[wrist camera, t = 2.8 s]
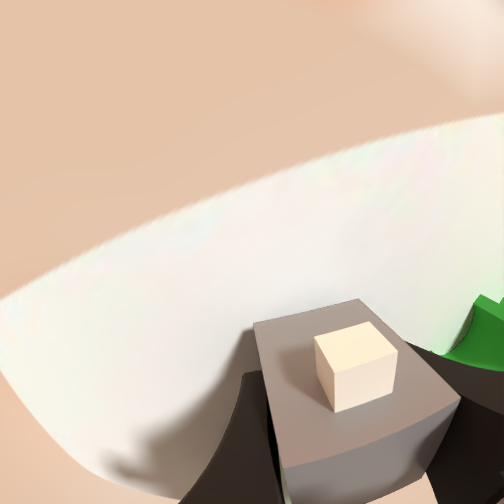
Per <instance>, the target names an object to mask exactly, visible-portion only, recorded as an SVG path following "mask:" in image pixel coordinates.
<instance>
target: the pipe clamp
mask: <svg viewBox="0 0 504 504" xmlns="http://www.w3.org/2000/svg"><path fill="white" fill-rule="evenodd" d="M473 304H474V316H473V320H472V324H471V326H470V329H469V331H468V333H467V334H466V336H465V338H464V339H463V340H462V342H461V343H460V344H459V345H458V346H457V347H456V348H455V349H454V350H452V351H451V352H449V353H447V354H445V355H441V356H442V357H445V358H448V359H451V360H454V361H457V362H460V363H463V364H467V365H470V366H475V367H479V368H484V369H489V370H495V371H504V298H503V299H502V300H501V302H500V303H499V304H498V303H496V302H494V301H492V300H491V299H489V298H487V297H485V296H483V295H481V294H480V295H479V297H478V298H477V299H476V301H475V302H474V303H473ZM429 352H432V351H431V350H430V351H429ZM432 353H433V352H432Z"/></svg>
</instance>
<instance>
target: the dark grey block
mask: <svg viewBox="0 0 504 504" xmlns="http://www.w3.org/2000/svg"><path fill="white" fill-rule="evenodd" d="M253 327H254V332H255V337H256V342H257V347H258V352H259V357H260V362H261V367H262V371H263V376H264V381H265V386H266V391H267V396H268V401H269V405H270V410H271V415H272V420H273V424H274V429H275V434H276V439H277V443H278V448H279V453H280V457H281V462H282V466H283V471H284V475H285V479H286V483H287V487H288V491H289V496H290V500H291V504H366V503H368V502H371V501H373V500H376V499H378V498H381V497H383V496H385V495H388V494H390V493H392V492H395V491H397V490H399V489H401V488H403V487H405V486H407V485H409V484H411V483H413V482H415V481H417V480H419V479H421V478H422V476H423V475H424V473H425V471H426V470H427V468H428V466H429V464H430V463H431V461H432V459H433V457H434V455H435V454H436V452H437V450H438V448H439V446H440V444H441V442H442V440H443V438H444V436H445V434H446V432H447V430H448V427H449V425H450V423H451V421H452V419H453V416H454V414H455V411H456V409H457V407H458V404H459V402H460V399H461V397H460V396H459V395H458V394H457V393H456V392H455V391H454V390H453V389H452V388H451V387H450V386H449V385H448V384H447V383H446V382H445V381H444V380H443V379H442V378H441V377H440V376H439V375H438V374H437V373H436V372H435V371H434V370H433V369H432V368H431V367H430V366H429V365H428V364H427V363H426V362H425V361H424V360H423V359H422V358H421V357H420V356H419V355H418V354H417V353H416V352H415V351H414V350H413V349H412V348H411V347H410V346H409V345H408V344H407V343H406V342H405V341H403V340H402V339H401V338H400V337H399V336H398V335H397V334H396V333H395V332H394V331H393V330H392V329H391V328H390V327H389V326H388V325H387V324H385V323H384V322H383V321H382V320H381V319H380V318H379V317H378V316H377V315H376V314H375V313H374V312H373V311H371V310H370V309H369V308H368V307H367V306H366V305H365V304H364V303H363V302H362V301H361V300H359V299H354V300H350V301H347V302H343V303H339V304H335V305H331V306H327V307H323V308H319V309H315V310H311V311H307V312H303V313H298V314H294V315H289V316H285V317H280V318H276V319H271V320H266V321H261V322H256V323H253Z"/></svg>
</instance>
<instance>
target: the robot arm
mask: <svg viewBox="0 0 504 504" xmlns="http://www.w3.org/2000/svg"><path fill="white" fill-rule="evenodd" d="M405 342H406V341H405ZM406 343H407V344H408V345H409V346H410V347H411V348H412V349H413V350H414V351H415V352H416V353H417V354H418V355H419V356H420V357H421V358H422V359H423V360H424V361H425V362H426V363H427V364H428V365H429V366H430V367H431V368H432V369H433V370H434V371H435V372H436V373H437V374H438V375H439V376H440V377H441V378H442V379H443V380H444V381H445V382H446V383H447V384H448V385H449V386H450V387H451V388H452V389H453V390H454V391H455V392H456V393H457V394H458V395H459V396H460V397H461V399H460V402H459V404H458V407H457V409H456V411H455V414H454V416H453V419H452V421H451V423H450V425H449V427H448V430H447V432H446V434H445V436H444V438H443V440H442V442H441V444H440V446H439V448H438V450H437V452H436V454H435V455H434V457H433V459H432V461H431V463H430V464H429V466H428V468H427V470H426V471H425V472H426V474H427V476H428V478H429V481H430V483H431V486H432V488H433V491H434V494H435V497H436V499H437V502H438V504H504V371H495V370H489V369H484V368H479V367H475V366H470V365H467V364H463V363H460V362H457V361H454V360H451V359H448V358H445V357H442V356H440V355H437V354H434V353H432V352H429V351H427V350H425V349H422V348H420V347H418V346H415V345H413V344H411V343H408V342H406ZM178 504H285V499H284V495H283V488H282V481H281V471H280V461H279V451H278V443H277V439H276V434H275V429H274V424H273V420H272V415H271V410H270V405H269V401H268V396H267V391H266V386H265V381H264V376H263V371H262V370H259V371H254V372H249V373H245V374H244V375H243V376H242V383H241V388H240V392H239V396H238V399H237V403H236V406H235V409H234V412H233V415H232V417H231V420H230V423H229V425H228V427H227V429H226V432H225V434H224V436H223V439H222V441H221V443H220V445H219V447H218V449H217V450H216V452H215V454H214V456H213V458H212V459H211V461H210V463H209V464H208V466H207V467H206V469H205V470H204V472H203V473H202V475H201V476H200V478H199V479H198V481H197V482H196V483H195V485H194V486H193V487H192V488H191V490H190V491H189V492H188V493H187V495H186V496H185V497H184V498H183V499H182V500H181V501H180V502H179V503H178Z"/></svg>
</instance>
